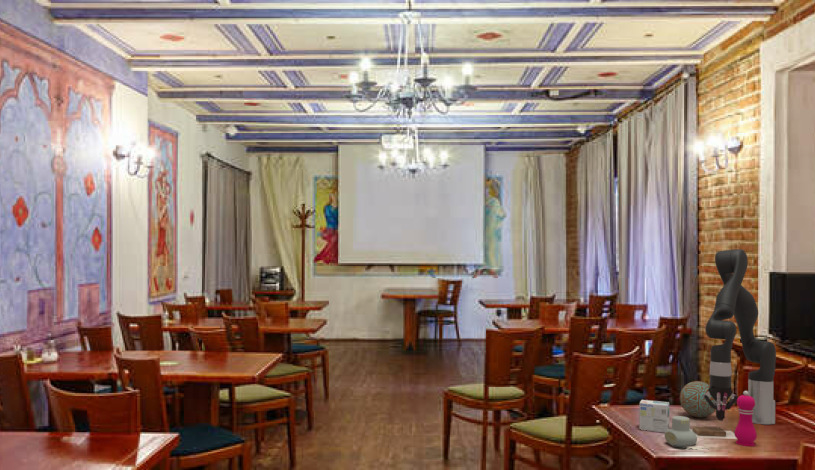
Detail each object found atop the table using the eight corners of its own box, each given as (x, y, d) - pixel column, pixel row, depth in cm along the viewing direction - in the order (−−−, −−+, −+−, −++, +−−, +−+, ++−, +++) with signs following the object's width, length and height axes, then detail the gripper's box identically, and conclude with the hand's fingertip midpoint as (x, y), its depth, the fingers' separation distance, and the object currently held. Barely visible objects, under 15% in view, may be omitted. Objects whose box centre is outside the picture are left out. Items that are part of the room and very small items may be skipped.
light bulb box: (669, 429, 281) (669, 401, 281) (667, 433, 275) (668, 405, 275) (640, 426, 286) (641, 399, 286) (638, 430, 280) (639, 402, 280)
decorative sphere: (684, 420, 296) (685, 383, 297) (675, 412, 311) (676, 377, 312) (722, 422, 295) (723, 385, 295) (711, 413, 310) (712, 378, 310)
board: (730, 434, 276) (730, 430, 276) (742, 442, 264) (742, 439, 264) (676, 431, 278) (676, 428, 278) (685, 440, 266) (685, 436, 266)
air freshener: (700, 449, 254) (700, 420, 254) (680, 450, 252) (680, 422, 252) (680, 441, 265) (680, 413, 265) (661, 442, 262) (661, 414, 262)
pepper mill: (730, 444, 261) (730, 388, 261) (749, 444, 262) (750, 388, 262) (741, 450, 254) (741, 392, 254) (760, 449, 254) (761, 392, 255)
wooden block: (719, 427, 274) (692, 426, 275) (726, 432, 267) (698, 430, 268) (719, 432, 274) (692, 430, 275) (726, 436, 267) (698, 435, 268)
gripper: (735, 372, 274) (734, 418, 273) (699, 371, 275) (698, 417, 275) (742, 376, 266) (742, 423, 266) (705, 374, 268) (704, 421, 267)
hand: (720, 420), depth 270 cm, fingers closed
